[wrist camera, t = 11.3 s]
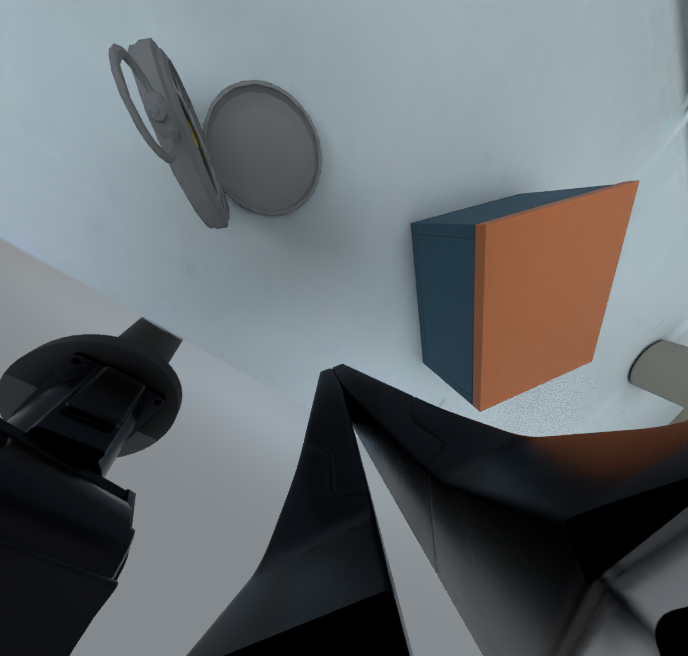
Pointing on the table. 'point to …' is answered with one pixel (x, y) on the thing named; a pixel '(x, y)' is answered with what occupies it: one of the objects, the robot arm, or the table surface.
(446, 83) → the table surface
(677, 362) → the travel mug
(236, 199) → the pocket watch
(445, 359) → the storage box
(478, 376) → the box lid
